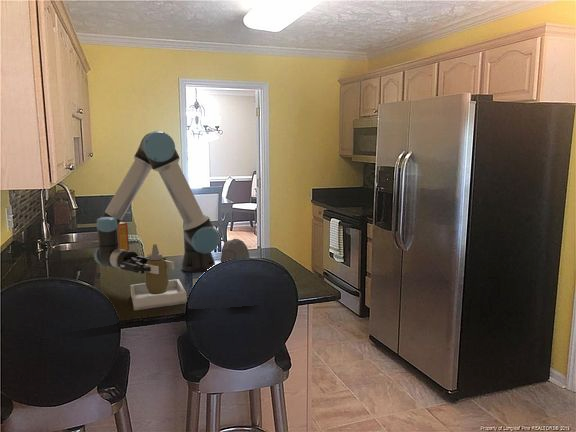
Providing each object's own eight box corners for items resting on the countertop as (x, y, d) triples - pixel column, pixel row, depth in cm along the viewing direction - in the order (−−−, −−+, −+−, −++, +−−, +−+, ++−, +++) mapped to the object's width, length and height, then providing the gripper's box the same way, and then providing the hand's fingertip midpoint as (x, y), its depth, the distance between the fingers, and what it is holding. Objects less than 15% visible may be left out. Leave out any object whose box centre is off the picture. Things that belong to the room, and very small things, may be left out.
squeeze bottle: (173, 292, 169) (170, 244, 166) (153, 297, 163) (150, 248, 161) (161, 287, 175) (158, 241, 172) (142, 292, 169) (138, 244, 166)
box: (179, 288, 181) (178, 279, 180) (187, 303, 164) (186, 292, 164) (131, 295, 174) (130, 284, 174) (134, 310, 158) (133, 299, 157)
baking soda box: (107, 251, 247) (105, 222, 245) (117, 249, 252) (115, 220, 250) (118, 254, 242) (116, 224, 239) (129, 251, 247) (127, 222, 245)
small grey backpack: (237, 282, 188) (236, 234, 185) (256, 284, 185) (254, 235, 182) (218, 293, 174) (216, 242, 171) (237, 296, 171) (236, 243, 168)
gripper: (146, 263, 186) (186, 271, 173) (103, 275, 170) (144, 285, 157) (144, 245, 185) (185, 252, 172) (101, 255, 169) (142, 263, 156)
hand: (165, 267), depth 165 cm, fingers closed on squeeze bottle, 6 cm apart
